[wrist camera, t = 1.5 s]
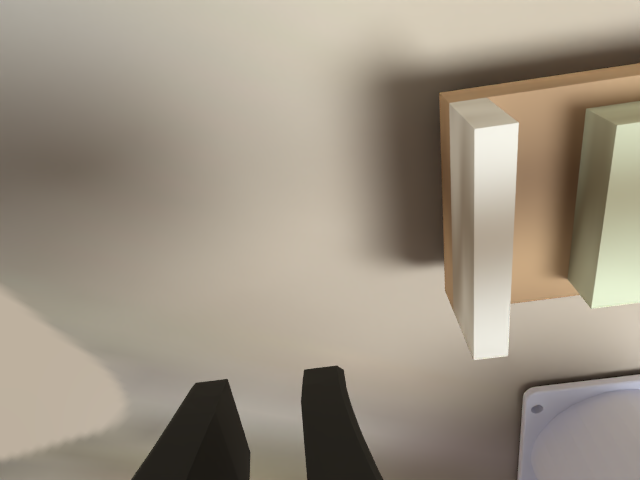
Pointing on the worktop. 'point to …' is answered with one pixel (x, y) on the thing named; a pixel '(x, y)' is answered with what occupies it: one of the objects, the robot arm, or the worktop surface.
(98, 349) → the worktop surface
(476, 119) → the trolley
